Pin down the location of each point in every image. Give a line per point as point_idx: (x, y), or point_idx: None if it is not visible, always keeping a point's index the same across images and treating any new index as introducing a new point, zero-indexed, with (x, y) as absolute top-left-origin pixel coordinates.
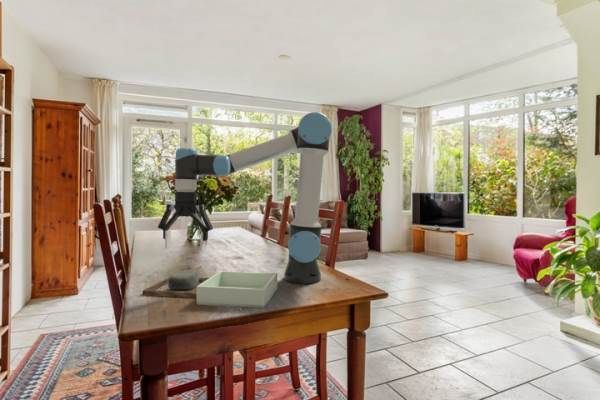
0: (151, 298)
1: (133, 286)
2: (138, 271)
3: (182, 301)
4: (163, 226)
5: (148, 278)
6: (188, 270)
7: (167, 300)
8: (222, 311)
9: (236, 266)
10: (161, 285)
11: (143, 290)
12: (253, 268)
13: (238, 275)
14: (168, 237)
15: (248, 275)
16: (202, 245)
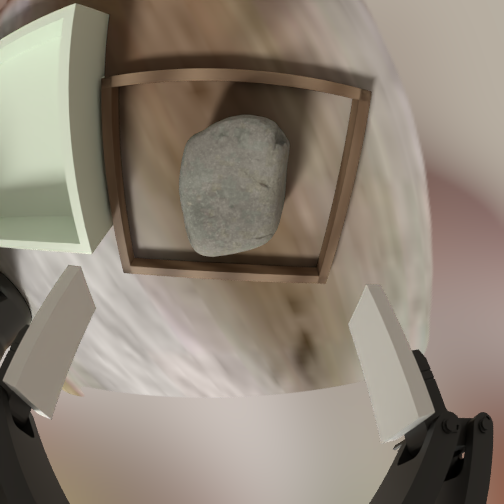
0: (312, 45)
1: (421, 195)
2: (421, 326)
3: (170, 25)
4: (454, 446)
5: (394, 279)
6: (217, 229)
7: (235, 25)
8: (33, 8)
9: (183, 384)
10: (335, 198)
11: (368, 92)
12: (133, 371)
13: (37, 234)
14: (385, 371)
15: (14, 234)
16: (53, 291)
